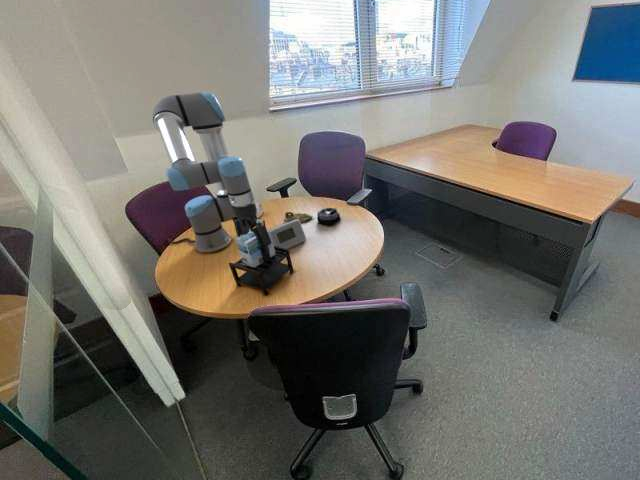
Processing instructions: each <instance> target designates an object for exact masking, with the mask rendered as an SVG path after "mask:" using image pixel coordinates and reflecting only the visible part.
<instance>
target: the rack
mask: <svg viewBox="0 0 640 480" xmlns="http://www.w3.org/2000/svg"><path fill="white" fill-rule="evenodd" d="M274 250H277V251H275V255H274V256H272V257H271V259H269V260H268V261H267V262H262V263H261V264H259V265H258V266H256V267H251V266H249V265H247V264H245V263H243V260H242V258H240V259H239V260H237V261H235V262H231V261H230V262H228V265H229V269H230V271H231V274H232V276H233V279H234V282H235V284H236V287H238V288H239V287H241V286H242V285H243V286H248V287H250V288H253V289H256V290H258V291H261V292H262V294H263V296H265V297H267V296H268V295H269V291H268V290H269V289H270V288H271V287H272V286H273V285H274V284H276V283H277V282H278V281H279V280H280V279H281V278H283V277H284V276H285V275H286V274H287V273H288V272H289V273H290V274H293V273H294V271H295V269H294V267H293V261H292V258H291V254H290V249H285V248H281V247H277V246H274ZM279 251H280V252H279ZM285 259H286V262H287V263H284V262H283V261H284V260H285ZM237 270H239V271H243V272H244V273H242V274H241V275H240V276H239V274H238V271H237Z"/></svg>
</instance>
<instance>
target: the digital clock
mask: <svg viewBox="0 0 640 480" xmlns="http://www.w3.org/2000/svg"><path fill="white" fill-rule="evenodd" d="M268 230H269V231H270V234H271V238H272V242H273V246H277V247H281V248H285V249H288V250H290V249H292V248H293V247H296V246H298V245H300V244H302V243H303V242H305V241H306V240H307V236H306V234H305V230H304V228H303V225H302V223H300V221H299V219H296V220H293V221H290V222H287V221H286V222H285V223H283V224H280V225H277V226H275V227H274V228H271V229H268ZM275 251H277V250H275ZM279 252H280V251H279Z"/></svg>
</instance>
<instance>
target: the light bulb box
mask: <svg viewBox="0 0 640 480" xmlns="http://www.w3.org/2000/svg"><path fill="white" fill-rule="evenodd" d="M269 230H270V229H267V232H268V234H269V237H270V240H271V242H272V238H271V234H270V231H269ZM234 240H235V243H236V245H237V249H238V251H239V255H240V258H241V259H242V260H243V263H245V264H247V266H248V265H249V266H251V267H256V266H258V265H259V264H261V263H262V262H264V259H263V256H262V253H261V250H260V247H261V245H260V243H259V242H258V240H257V238H256V236H255V235H254V233H253V232H251V230H249V232H248V233H246V234H244V235H240V237H236V238H235V239H234ZM268 248H269V251H270V252H269V254H270V257H272V256H274V255H275V250H274V246H273V242H272V244H270V245H269V246H268ZM245 264H244V265H245Z"/></svg>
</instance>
